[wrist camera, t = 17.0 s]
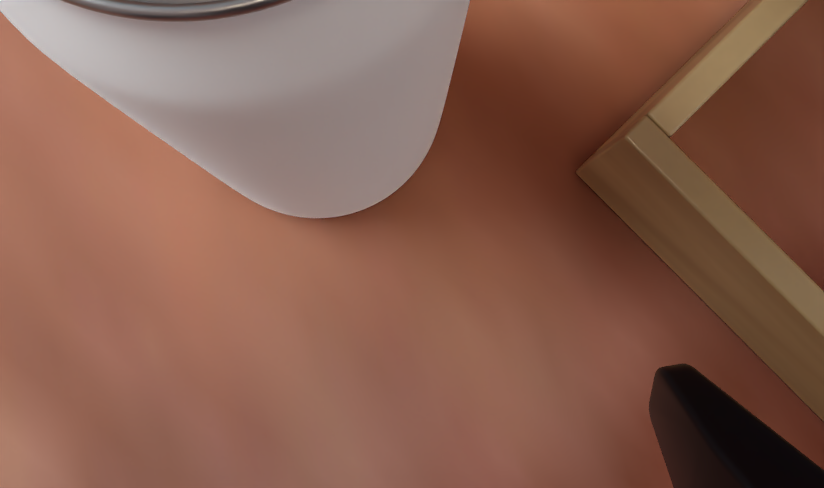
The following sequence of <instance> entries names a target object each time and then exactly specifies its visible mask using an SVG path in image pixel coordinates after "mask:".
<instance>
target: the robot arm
mask: <svg viewBox="0 0 824 488" xmlns="http://www.w3.org/2000/svg"><path fill="white" fill-rule="evenodd" d="M649 412H650V418H651V421H652V424H653V427H654V430H655V433H656V436H657V439H658V442H659V445H660V448H661V451H662V454H663V457H664V460H665V463H666V466H667V469H668V472H669V475H670V478H671V481H672V484H673V487H674V488H824V470H823V469H821V468H820V467H819V466H818V465H816V464H815V463H814V462H813V461H811V460H810V459H809V458H808V457H806V456H805V455H804V454H802V453H801V452H800V451H799V450H797V449H796V448H795V447H794V446H792V445H791V444H790V443H789V442H787V441H786V440H785V439H783V438H782V437H781V436H780V435H778V434H777V433H776V432H775V431H773V430H772V429H771V428H770V427H768V426H767V425H766V424H764V423H763V422H762V421H761V420H759V419H758V418H757V417H756V416H754V415H753V414H752V413H751V412H749V411H748V410H747V409H745V408H744V407H743V406H742V405H740V404H739V403H738V402H737V401H735V400H734V399H733V398H732V397H730V396H729V395H728V394H726V393H725V392H724V391H723V390H721V389H720V388H719V387H718V386H716V385H715V384H714V383H713V382H711V381H710V380H709V379H707V378H706V377H705V376H704V375H702V374H701V373H700V372H699V371H697V370H696V369H695V368H693V367H692V366H690V365H687V364H677V365H671V366H665V367H660V368H659V369H658V370H657V371H656V373H655V377H654V382H653V387H652V392H651V397H650V402H649Z"/></svg>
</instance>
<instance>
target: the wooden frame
mask: <svg viewBox="0 0 824 488" xmlns="http://www.w3.org/2000/svg"><path fill="white" fill-rule="evenodd" d="M807 1H808V0H749V1H748V2H747V3H746V4H745V5H744V6H743V7H742V8H741V9H740V10H739V11H738V12H737V13H736V14H735V15H734V16H733V17H732V18H731V19H730V20H729V21H728V22H727V23H726V24H725V25H724V26H723V27H722V28H721V29H720V30H719V31H718V32H717V33H716V34H715V35H714V36H713V37H712V38H711V39H710V40H709V41H708V42H707V43H706V44H705V45H704V46H702V47H701V48H700V49H699V50H698V51H697V52H696V53H695V54H694V55H693V56H692V57H691V58H690V59H689V60H688V61H687V62H686V63H685V64H684V65H683V66H682V67H681V68H680V69H679V70H678V71H677V72H676V73H675V74H674V75H673V76H672V77H671V78H670V79H669V80H668V81H667V82H666V83H665V84H664V85H663V86H662V87H661V88H660V89H659V90H658V91H657V92H656V93H655V94H654V95H653V96H652V97H651V98H650V99H649V100H648V101H647V102H646V103H645V104H643V105H642V106H641V107H640V108H639V109H638V110H637V111H636V112H635V113H634V114H633V115H632V116H631V117H630V118H629V119H628V120H627V121H626V122H625V123H624V124H623V125H622V126H621V127H620V128H619V129H618V130H617V131H616V132H615V133H614V134H613V135H612V136H611V137H610V138H609V139H608V140H607V141H606V142H605V143H604V144H603V145H602V146H601V147H600V148H599V149H598V150H597V151H596V152H595V153H594V154H593V155H592V156H591V157H590V158H589V159H588V160H586V161H585V162H584V163H583V164H582V165H581V166H580V167H579V168H578V169H577V171H576V174H577V175H578V176H579V177H580V178H581V179H582V180H583V181H584V182H585V183H586V184H587V185H588V186H589V187H590V188H591V189H592V190H593V191H594V192H595V193H596V194H597V195H598V196H599V197H600V198H601V199H602V200H603V201H604V202H605V203H606V204H607V205H608V206H609V207H610V208H611V209H612V210H613V211H614V212H615V213H616V214H617V215H618V216H619V217H620V218H621V219H622V220H623V221H624V222H625V223H626V224H627V225H628V226H629V227H630V228H631V229H632V230H633V231H634V232H635V233H636V234H637V235H638V236H639V237H640V238H641V239H642V240H643V241H644V242H645V243H646V244H647V245H648V246H649V247H650V248H651V249H652V250H653V251H654V252H655V253H656V254H657V255H658V256H659V257H660V258H661V259H662V260H663V261H664V262H665V263H666V264H667V265H668V266H669V267H670V268H671V269H672V270H673V271H674V272H675V273H676V274H677V275H678V276H679V277H680V278H681V279H682V280H683V281H684V282H685V283H686V284H687V285H688V286H689V287H690V288H691V289H692V290H693V291H694V292H695V293H696V294H697V295H698V296H699V297H700V298H701V299H702V300H703V301H704V302H705V303H706V304H707V305H708V306H709V307H710V308H711V309H712V310H713V311H714V312H715V313H716V314H717V315H718V316H719V317H720V318H721V319H722V320H723V321H724V322H725V323H726V324H727V325H728V326H729V327H730V328H731V329H732V330H733V331H734V332H735V333H736V334H737V335H738V336H739V337H740V338H741V339H742V340H743V341H744V342H745V343H746V344H747V345H748V346H749V347H750V348H751V349H752V350H753V351H754V352H755V353H756V354H757V355H758V356H759V357H760V358H761V359H762V360H763V361H764V362H765V363H766V364H767V365H768V366H769V367H770V368H771V369H772V370H773V371H774V372H775V373H776V374H777V375H778V376H779V377H780V378H781V379H782V380H783V381H784V382H785V383H786V384H787V385H788V386H789V387H790V388H791V389H792V390H793V391H794V392H795V393H796V394H797V395H798V396H799V397H800V398H801V400H802V401H803V402H804V403H805V404H806V405H807V406H808V407H809V408H810V409H811V410H812V411H813V412H814V413H815V414H816V415H817V416H818V417H819V418H820V419H821V420H822V421H823V422H824V291H823V290H822V289H821V288H820V287H819V286H818V285H817V284H816V283H815V282H814V281H813V280H812V279H811V278H810V277H809V276H808V275H807V274H806V273H805V272H804V271H803V270H802V269H801V268H800V267H799V266H798V265H797V264H796V263H795V262H794V261H793V260H792V259H791V258H790V257H789V256H788V255H787V254H786V253H785V252H784V251H783V250H782V249H781V248H780V247H779V246H778V245H777V244H776V243H775V242H774V241H773V240H772V239H771V238H770V237H769V236H768V235H767V234H766V233H765V232H764V231H763V230H761V229H760V228H759V227H758V226H757V225H756V224H755V223H754V222H753V221H752V220H751V219H750V218H749V217H748V216H747V215H746V214H745V213H744V212H743V211H742V210H741V209H740V208H739V207H738V206H737V205H736V204H735V203H734V202H733V201H732V200H731V199H730V198H729V197H728V196H727V195H726V194H725V193H724V192H723V191H722V190H721V189H720V188H719V187H718V186H717V185H716V184H715V183H714V182H713V181H712V180H711V179H710V178H709V177H708V176H707V175H706V174H705V173H704V172H703V171H702V170H701V169H700V168H699V167H698V166H697V165H696V164H695V163H694V162H693V161H692V160H691V159H690V158H689V157H688V156H687V155H686V154H685V153H684V152H683V151H682V150H681V149H680V148H679V147H678V146H677V145H676V144H675V143H674V142H673V141H672V140H671V139H670V138H669V137H670V136H672V135H673V134H674V133H675V132H676V131H677V130H678V129H679V128H680V127H681V126H682V125H683V124H684V123H685V122H686V121H687V120H688V119H689V118H690V117H691V116H692V115H693V114H694V113H695V112H696V111H697V110H698V109H699V108H700V107H701V106H702V105H703V104H704V103H705V102H706V101H707V100H708V99H709V98H710V97H711V96H712V95H713V94H714V93H715V92H716V91H717V90H718V89H719V88H720V87H721V86H722V85H723V84H724V83H725V82H726V81H727V80H728V79H729V78H730V77H731V76H732V75H733V74H734V73H735V72H737V71H738V70H739V69H740V68H741V67H742V66H743V65H744V64H745V63H746V62H747V61H748V60H749V59H750V58H751V57H752V56H753V55H754V54H755V53H756V52H757V51H758V50H759V49H760V48H761V47H762V46H763V45H764V44H765V43H766V42H767V41H768V40H769V39H770V38H771V37H772V36H773V35H774V34H775V33H776V32H777V31H778V30H779V29H780V28H781V27H782V26H783V25H784V24H785V23H786V22H787V21H788V20H789V19H790V18H791V17H792V16H793V15H794V14H795V13H796V12H797V11H798V10H799V9H800V8H801V7H802V6H803V5H804V4H805V3H806V2H807Z"/></svg>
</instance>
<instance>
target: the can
mask: <svg viewBox="0 0 824 488" xmlns="http://www.w3.org/2000/svg"><path fill="white" fill-rule="evenodd" d="M469 2H470V0H0V11H1V12H2V13H3V14H4V15H5V17H6V18H7V19H8V20H9V21H10V22H11V23H12V24H13V25H14V26H15V27H16V28H17V29H18V30H19V31H20V32H21V33H22V34H23V35H24V36H25V37H26V38H27V39H28V40H29V41H30V42H31V43H32V44H33V45H34V46H36V47H37V48H38V49H39V50H40V51H41V52H42V53H44V54H45V55H46V56H48V57H49V58H50V59H51V60H53V61H54V62H55V63H56V64H58V65H59V66H60V67H62V68H63V69H64V70H65V71H67V72H68V73H69V74H70V75H72V76H73V77H74V78H76V79H77V80H79V81H80V82H81V83H83V84H84V85H85V86H87V87H88V88H90V89H91V90H92V91H94V92H95V93H97V94H98V95H99V96H101V97H102V98H103V99H105V100H106V101H108V102H109V103H110V104H112V105H113V106H115V107H116V108H117V109H119V110H120V111H122V112H123V113H125V114H126V115H127V116H129V117H130V118H132V119H133V120H134V121H136V122H137V123H139V124H140V125H142V126H143V127H144V128H146V129H147V130H149V131H150V132H151V133H153V134H154V135H156V136H157V137H159V138H160V139H161V140H163V141H164V142H166V143H167V144H169V145H170V146H172V147H173V148H174V149H176V150H177V151H179V152H180V153H182V154H183V155H184V156H186V157H187V158H189V159H190V160H192V161H193V162H195V163H196V164H197V165H199V166H200V167H202V168H203V169H205V170H206V171H208V172H209V173H211V174H212V175H213V176H215V177H216V178H218V179H219V180H221V181H222V182H224V183H225V184H227V185H228V186H230V187H231V188H233V189H234V190H236V191H237V192H239V193H240V194H242V195H243V196H245V197H247V198H248V199H250V200H252V201H254V202H255V203H257V204H259V205H261V206H263V207H266V208H268V209H271V210H273V211H276V212H279V213H283V214H287V215H291V216H296V217H303V218H331V217H338V216H343V215H348V214H352V213H355V212H358V211H361V210H364V209H366V208H368V207H371V206H373V205H375V204H377V203H378V202H380V201H382V200H383V199H385V198H387V197H388V196H390V195H391V194H392V193H394V192H395V191H396V190H397V189H399V188H400V187H401V186H402V185H403V184H404V183H405V182H406V181H407V180H408V179H409V178H410V177H411V176H412V175H413V174H414V172H415V171H416V170H417V169H418V167H419V166H420V164H421V163H422V161H423V160H424V158H425V157H426V155H427V153H428V151H429V149H430V147H431V145H432V143H433V140H434V138H435V135H436V132H437V129H438V126H439V123H440V119H441V116H442V112H443V108H444V105H445V101H446V97H447V93H448V89H449V85H450V81H451V77H452V73H453V69H454V65H455V61H456V56H457V52H458V48H459V44H460V40H461V36H462V32H463V27H464V23H465V19H466V15H467V11H468V6H469Z"/></svg>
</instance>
